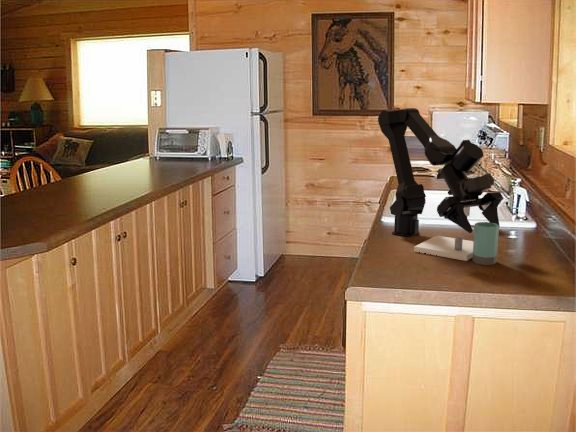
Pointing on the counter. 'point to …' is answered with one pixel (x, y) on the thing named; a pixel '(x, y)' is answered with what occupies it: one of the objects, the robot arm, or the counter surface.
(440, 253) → the pin board
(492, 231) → the teal faceted cylinder
